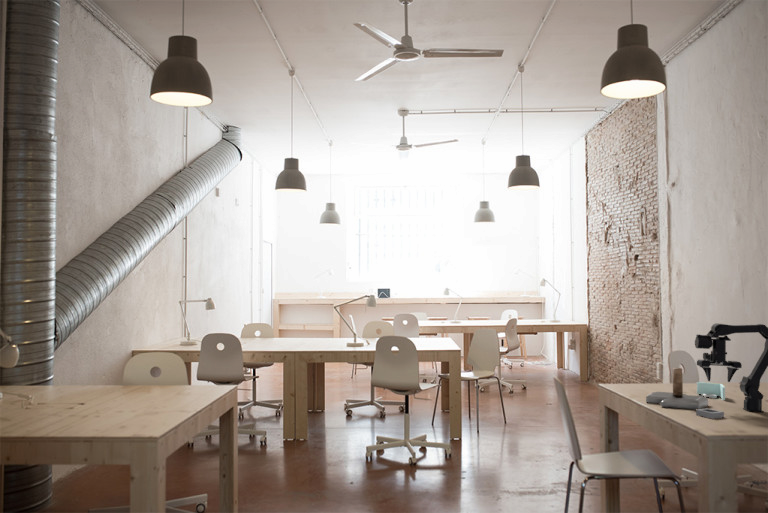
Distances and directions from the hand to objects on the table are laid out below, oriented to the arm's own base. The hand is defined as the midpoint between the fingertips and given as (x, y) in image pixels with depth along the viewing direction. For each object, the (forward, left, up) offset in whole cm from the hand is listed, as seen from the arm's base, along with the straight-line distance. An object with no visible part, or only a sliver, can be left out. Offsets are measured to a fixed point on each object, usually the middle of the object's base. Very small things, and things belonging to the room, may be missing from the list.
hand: (718, 381), depth 286 cm
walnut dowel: (+17, -6, -8) cm, 20 cm away
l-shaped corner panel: (-10, -29, -14) cm, 34 cm away
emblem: (+17, -7, -14) cm, 23 cm away
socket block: (+13, +19, -13) cm, 27 cm away
